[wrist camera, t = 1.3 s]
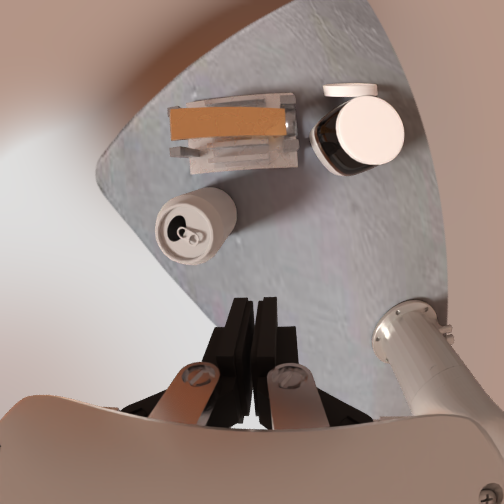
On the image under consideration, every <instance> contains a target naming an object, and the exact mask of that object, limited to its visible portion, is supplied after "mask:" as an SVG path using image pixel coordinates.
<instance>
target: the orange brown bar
mask: <svg viewBox="0 0 504 504" xmlns="http://www.w3.org/2000/svg"><path fill="white" fill-rule="evenodd" d="M170 132H171V141H175V140H186V139H199V138H215V137H238V136H283V137H294V136H298V133H297V119H296V109H293V108H286V109H282V108H264V107H198V108H180V109H170Z"/></svg>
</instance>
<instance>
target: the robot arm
mask: <svg viewBox="0 0 504 504" xmlns="http://www.w3.org/2000/svg"><path fill="white" fill-rule="evenodd" d="M451 331H452V326H451V325H445V326H442V327H441V325H439V323H438V320H437V315H436V313H435V311H434V309H433V308H432V307H431V306H430V305H429V304H427V303H426V302H423V301H420V300H410V301H406V302H403V303H400V304H398V305H396V306H395V307H393V308H392V309H390V310H389V311H388V312H387V313H386V314H385V315H384V316H383V317H382V318H381V319H380V321H379V322H378V324H377V325H376V327H375V330H374V332H373V336H372V347H373V350H374V353H375V355H376V356H377V357H378V358H379V359H380V360H381V361H383V362H385V363H389V364H390V365H391V367H392V369H393V372H394V374H395V376H396V378H397V380H398V383H399V385H400V387H401V389H402V392H403V394H404V396H405V399H406V401H407V403H408V406H409V408H410V410H411V413H412V415H413V416H407V417H380V418H379V420H374V419H372V418H371V417H370V416H368V415H367V414H365V413H363V412H362V411H360V410H358V409H356V408H354V407H352V406H350V405H348V404H346V403H344V402H342V401H340V400H339V399H337V398H335V397H333V396H331V395H329V394H328V393H326V392H324V391H322V390H320V389H319V388H317V387H316V384H315V381H314V378H313V375H312V373H311V371H310V370H309V369H308V368H307V367H305V366H303V365H300V364H299V362H298V349H297V336H296V327H295V326H291V327H278V322H277V297H264V299H263V301H259V302H258V309H257V315H256V322H255V324H254V311H253V301H248V298H234V300H233V303H232V306H231V310H230V313H229V316H228V319H227V322H226V325H225V327H215V328H214V331H213V333H212V336H211V338H210V341H209V344H208V347H207V349H206V352H205V354H204V357H203V360H202V362H196V363H191V364H188V365H187V366H185V367H183V368H182V369H181V370H180V371H179V373H178V374H177V375H176V377H175V378H174V380H173V381H172V383H171V384H170V386H169V387H168V389H166V390H164V391H162V392H160V393H157V394H155V395H153V396H150V397H148V398H146V399H143V400H141V401H138V402H136V403H133V404H131V405H128V406H127V407H125V408H123V409H122V410H121V411H120V410H119V408H115V407H100V406H96V405H92V404H88V403H85V402H81V401H77V400H74V399H69V398H65V397H60V396H52V395H33V396H28V397H25V398H23V399H22V400H20V401H19V402H18V403H16V404H15V405H14V406H13V407H12V408H11V409H10V410H9V411H8V412H7V413H6V414H5V416H4V417H3V418H2V419H1V420H0V504H504V411H502V409H501V408H500V407H499V406H498V405H497V404H496V403H495V402H494V401H493V400H492V399H491V398H490V396H489V395H488V394H487V393H486V392H485V391H484V389H483V388H482V387H481V385H480V384H479V383H478V381H477V380H476V379H475V377H474V376H473V374H472V373H471V372H470V370H469V369H468V368H467V366H466V365H465V364H464V362H463V361H462V360H461V358H460V357H459V356H458V354H457V353H456V352H455V350H454V349H453V348H452V346H451V345H452V344H453V343H454V336H453V335H452V334H450V335H445V336H443V335H442V334H443V333H450V332H451ZM252 390H253V393H254V403H255V413H256V416H259V422H260V424H262V425H263V426H264V427H265V428H267V429H268V430H264V429H260V430H259V429H235V428H234V429H233V428H231V426H233V425H235V424H237V423H243V419H244V416H249V412H250V405H251V398H252Z"/></svg>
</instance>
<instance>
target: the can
mask: <svg viewBox="0 0 504 504" xmlns="http://www.w3.org/2000/svg"><path fill="white" fill-rule="evenodd" d="M236 221H237V210H236V207H235V204H234V202H233V200H232V199H231V197H230V196H229V195H228V194H227V193H225V192H224V191H222V190H220V189H217V188H214V187H205V188H202V189H198V190H195V191H192V192H189V193H186V194H183V195H180V196H178V197H175V198H172V199H171V200H169V201H168V202H167V203H166V204H165V205H163V207H162V209H161V210H160V212H159V214H158V216H157V220H156V225H155V226H156V228H155V233H156V240H157V242H158V245H159V247H160V249H161V250H162V251H163V253H164V254H165V255H166V256H167V257H169V258H170V259H171V260H173V261H175V262H178V263H181V264H185V265H197V264H201V263H205V262H206V261H208V260H209V259H211V258H212V257H214V256H215V254H216V253H217V251H218V250H219V249H220V247H221V246H222V244H223V243H224V242H225V240H226V239H227V237H228V236H229V234H230V233H231V232H232V230H233V229H234V227H235V224H236Z"/></svg>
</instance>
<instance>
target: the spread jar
mask: <svg viewBox="0 0 504 504" xmlns="http://www.w3.org/2000/svg"><path fill="white" fill-rule="evenodd" d="M323 89H324V95H325V96H331V97H356V98H353V99H351V100H348V101H346V102H344V103H343V104H341V105H339V106H338V107H336V108H335V109H333V110H332V111H331V112H329V113H328V114H327V115H326V116H324V117H323V118H322V119H321V120H320V121H319V122H318V123H317V124H316V125H315V126H314V127H313V128H312V130H311V132H310V135H309V139H310V143H311V146H312V148H313V150H314V152H315V154H316V156H317V157H318V159H319V160H320V161H321V163H322V164H323V165H324V166H325V167H326V168H327V169H328V170H329V171H330V172H331V173H333V174H335V175H339V176H352V175H356V174H359V173H362V172H365V171H367V170H370V169H372V168H374V167H376V166H378V165H380V164H384V163H387V162H389V161H391V160H393V159H394V158H395V157H396V156H397V155H398V154H399V152H400V150H401V148H402V146H403V142H404V127H403V123H402V120H401V118H400V116H399V115H398V113H397V112H396V110H395V109H394V108H393V107H392V106H391V105H390V104H389V103H387V102H386V101H384V100H382V99H380V98H378V97H377V95H378V93H377V85H375V84H362V83H345V84H328V85H323Z"/></svg>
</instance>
